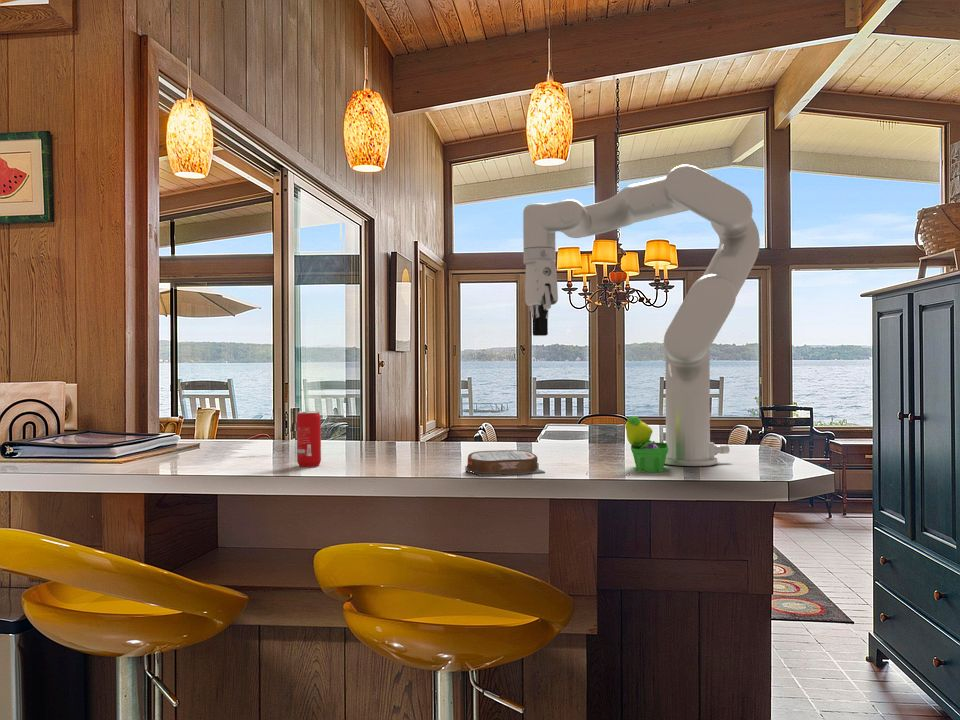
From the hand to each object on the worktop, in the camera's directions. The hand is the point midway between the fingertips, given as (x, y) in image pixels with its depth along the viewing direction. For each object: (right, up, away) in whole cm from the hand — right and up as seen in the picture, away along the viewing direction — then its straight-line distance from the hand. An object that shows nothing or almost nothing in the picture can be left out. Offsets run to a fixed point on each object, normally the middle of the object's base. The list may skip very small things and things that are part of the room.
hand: (540, 335), depth 181 cm
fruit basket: (+21, -29, -18) cm, 40 cm away
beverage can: (-52, -30, -9) cm, 61 cm away
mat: (-9, -29, -21) cm, 37 cm away
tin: (-11, -26, -16) cm, 33 cm away
